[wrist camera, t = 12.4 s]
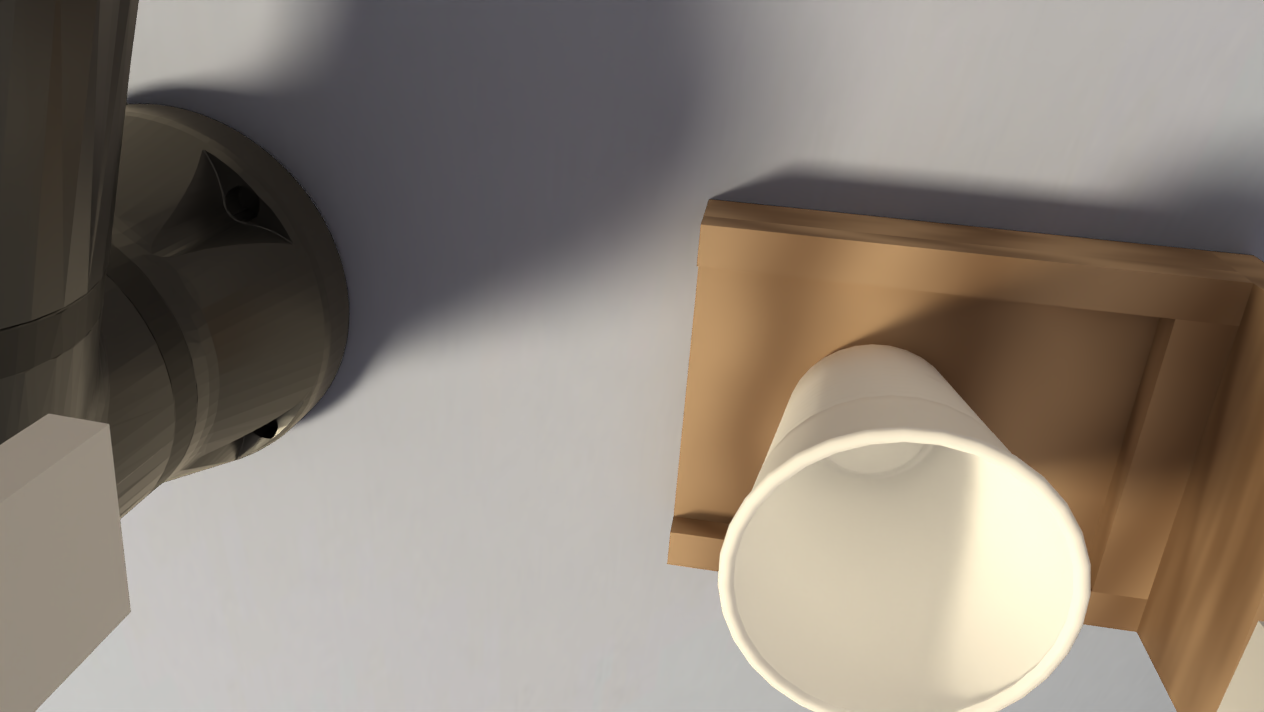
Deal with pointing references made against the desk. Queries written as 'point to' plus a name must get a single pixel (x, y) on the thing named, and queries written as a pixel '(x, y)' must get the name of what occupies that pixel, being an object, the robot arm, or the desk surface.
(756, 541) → the cup
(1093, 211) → the desk surface
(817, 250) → the bracket shelf
